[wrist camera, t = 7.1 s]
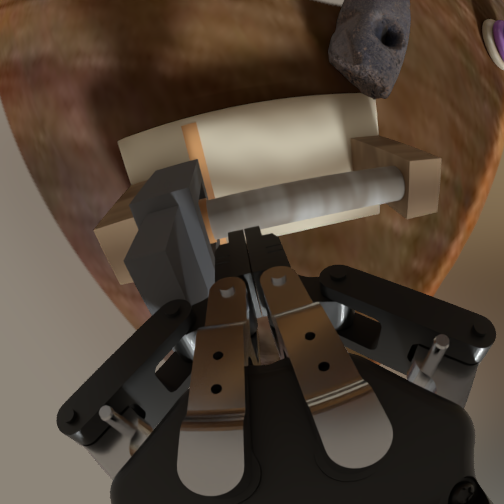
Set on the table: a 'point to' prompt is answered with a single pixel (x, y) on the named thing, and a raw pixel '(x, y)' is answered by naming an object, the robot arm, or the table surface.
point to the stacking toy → (494, 40)
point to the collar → (171, 238)
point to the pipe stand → (278, 169)
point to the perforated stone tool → (371, 43)
